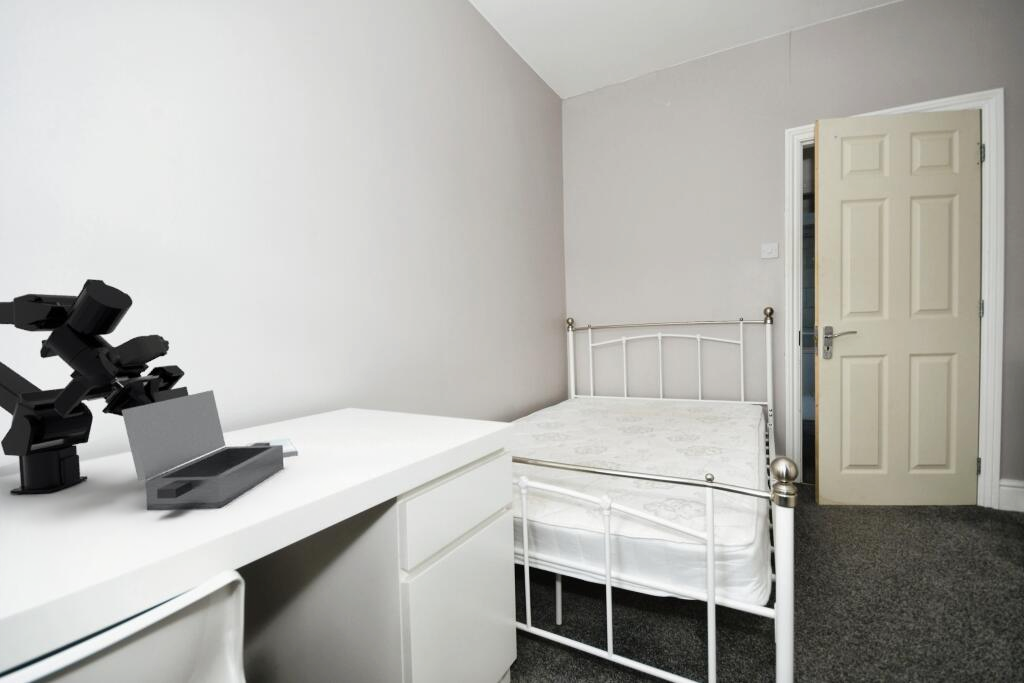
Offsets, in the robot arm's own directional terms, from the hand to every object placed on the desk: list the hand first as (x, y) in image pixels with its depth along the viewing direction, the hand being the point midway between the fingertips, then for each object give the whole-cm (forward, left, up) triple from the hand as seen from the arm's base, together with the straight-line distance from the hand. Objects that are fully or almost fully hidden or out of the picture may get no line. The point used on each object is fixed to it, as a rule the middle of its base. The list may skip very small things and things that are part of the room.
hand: (167, 424), depth 73 cm
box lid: (+2, 0, 0) cm, 2 cm away
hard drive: (+5, +20, -11) cm, 24 cm away
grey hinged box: (+8, 0, -10) cm, 13 cm away
